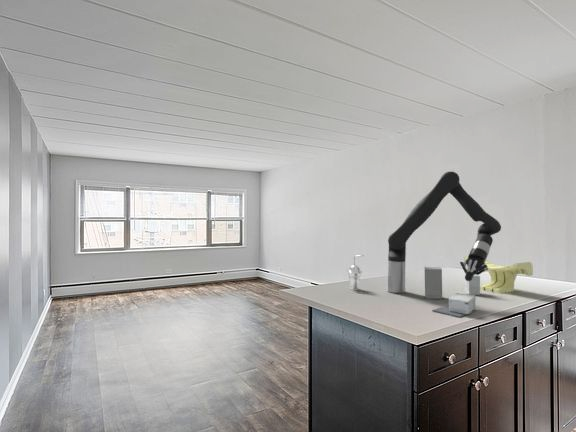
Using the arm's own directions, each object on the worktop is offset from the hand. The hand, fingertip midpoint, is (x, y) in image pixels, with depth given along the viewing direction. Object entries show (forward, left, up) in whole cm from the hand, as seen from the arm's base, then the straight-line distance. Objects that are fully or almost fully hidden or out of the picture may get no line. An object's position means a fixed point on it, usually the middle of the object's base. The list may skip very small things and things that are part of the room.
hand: (467, 279), depth 163 cm
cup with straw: (-54, +22, -13) cm, 60 cm away
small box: (+9, +31, -13) cm, 34 cm away
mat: (-7, -11, -13) cm, 18 cm away
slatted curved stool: (+25, +46, -13) cm, 54 cm away
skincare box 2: (-1, -2, -9) cm, 9 cm away
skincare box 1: (-13, +14, -13) cm, 23 cm away
